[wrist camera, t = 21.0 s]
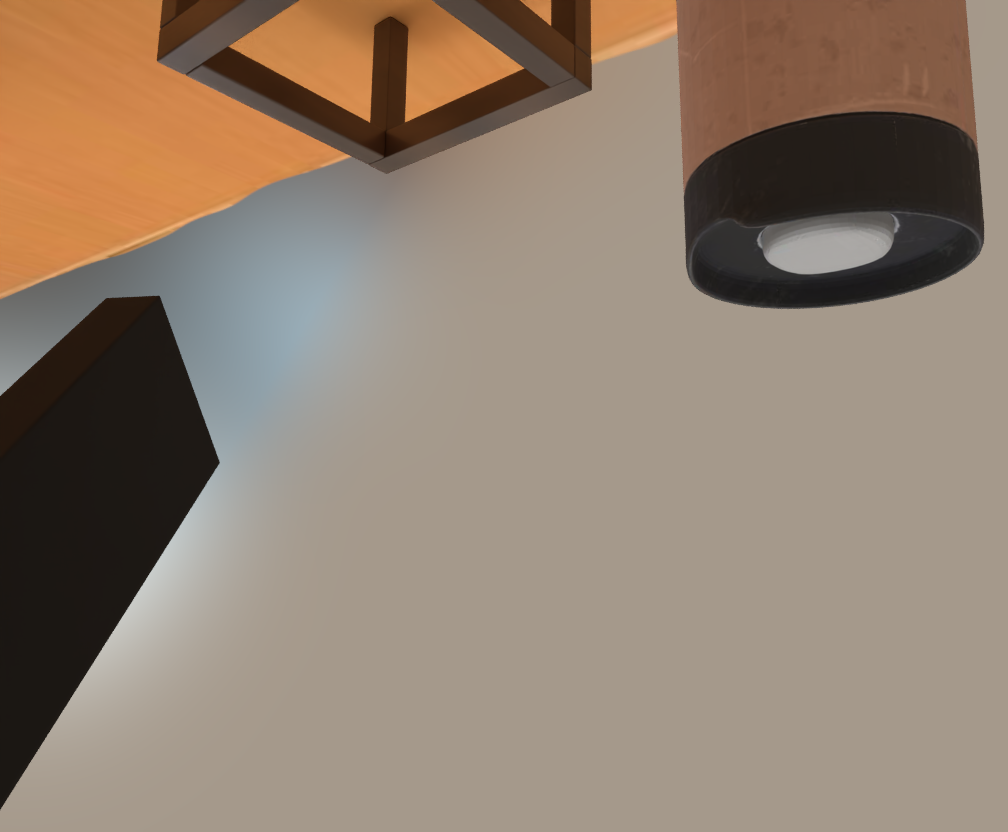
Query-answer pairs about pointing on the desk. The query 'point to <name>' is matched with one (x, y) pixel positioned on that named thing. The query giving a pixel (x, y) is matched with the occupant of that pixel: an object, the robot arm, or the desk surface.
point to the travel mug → (826, 148)
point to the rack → (388, 74)
